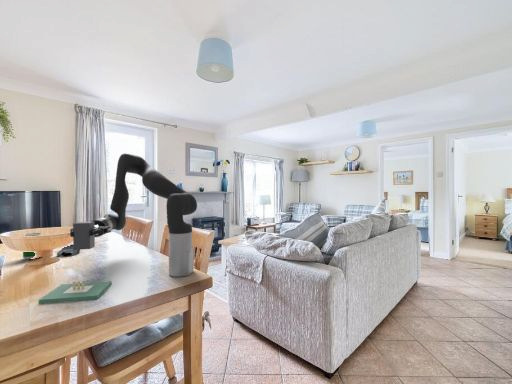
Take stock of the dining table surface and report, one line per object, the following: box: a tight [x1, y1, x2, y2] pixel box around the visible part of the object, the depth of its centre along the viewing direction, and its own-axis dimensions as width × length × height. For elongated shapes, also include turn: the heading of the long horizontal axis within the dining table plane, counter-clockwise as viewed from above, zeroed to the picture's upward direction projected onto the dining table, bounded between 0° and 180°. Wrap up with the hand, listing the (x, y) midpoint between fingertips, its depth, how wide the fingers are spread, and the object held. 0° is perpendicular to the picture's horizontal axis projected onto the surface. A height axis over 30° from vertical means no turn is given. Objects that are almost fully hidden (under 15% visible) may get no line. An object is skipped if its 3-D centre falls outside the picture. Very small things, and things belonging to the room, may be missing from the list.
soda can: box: [22, 232, 43, 259], centre depth 119 cm, size 8×8×12 cm
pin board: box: [38, 280, 113, 305], centre depth 80 cm, size 16×12×4 cm
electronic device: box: [56, 244, 81, 258], centre depth 129 cm, size 9×6×15 cm
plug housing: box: [72, 221, 96, 251], centre depth 93 cm, size 6×4×10 cm
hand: (81, 233), depth 91 cm, fingers closed on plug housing, 5 cm apart
